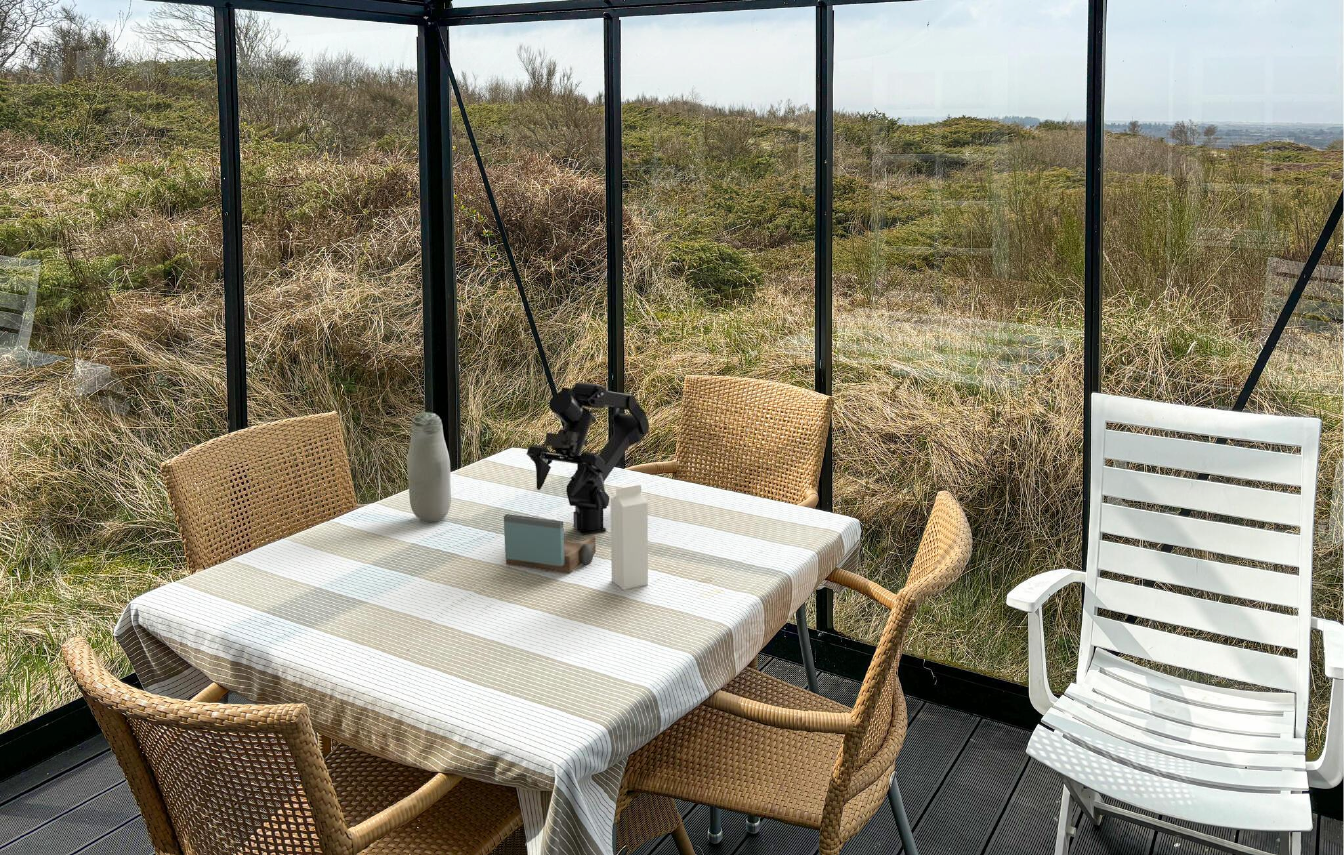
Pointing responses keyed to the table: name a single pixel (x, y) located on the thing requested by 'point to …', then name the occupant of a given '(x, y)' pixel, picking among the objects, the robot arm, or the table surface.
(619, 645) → the table surface
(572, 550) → the trailer
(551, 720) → the table surface
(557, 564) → the panel
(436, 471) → the grey bottle
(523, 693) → the table surface
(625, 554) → the milk
